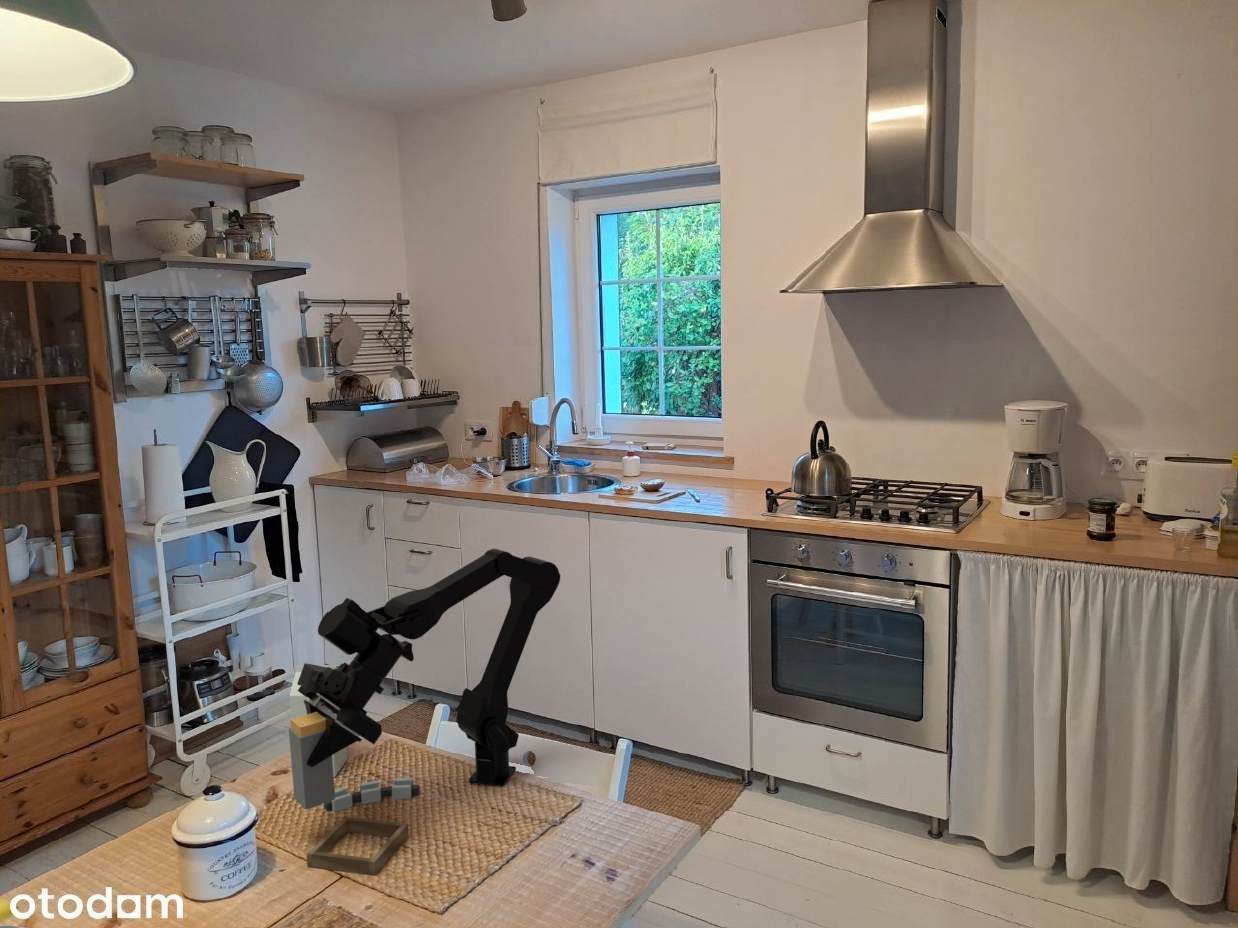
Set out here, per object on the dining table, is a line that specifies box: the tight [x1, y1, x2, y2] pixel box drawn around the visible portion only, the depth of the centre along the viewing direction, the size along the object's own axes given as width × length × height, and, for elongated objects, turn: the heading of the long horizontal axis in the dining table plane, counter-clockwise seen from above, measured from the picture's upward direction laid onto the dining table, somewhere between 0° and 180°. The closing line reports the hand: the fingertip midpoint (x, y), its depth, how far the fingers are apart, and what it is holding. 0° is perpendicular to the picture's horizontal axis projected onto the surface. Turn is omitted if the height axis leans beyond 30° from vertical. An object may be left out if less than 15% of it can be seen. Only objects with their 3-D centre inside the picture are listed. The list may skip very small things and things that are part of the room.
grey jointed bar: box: [323, 777, 421, 813], centre depth 148 cm, size 4×15×2 cm, turn 110°
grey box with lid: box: [288, 712, 336, 810], centre depth 134 cm, size 4×4×12 cm
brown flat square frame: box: [306, 816, 410, 876], centre depth 133 cm, size 11×11×2 cm
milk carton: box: [289, 664, 348, 778], centre depth 158 cm, size 7×7×19 cm
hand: (302, 759), depth 133 cm, fingers closed on grey box with lid, 4 cm apart
